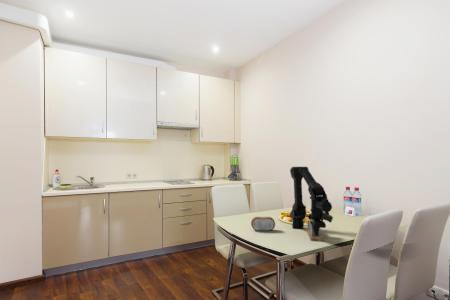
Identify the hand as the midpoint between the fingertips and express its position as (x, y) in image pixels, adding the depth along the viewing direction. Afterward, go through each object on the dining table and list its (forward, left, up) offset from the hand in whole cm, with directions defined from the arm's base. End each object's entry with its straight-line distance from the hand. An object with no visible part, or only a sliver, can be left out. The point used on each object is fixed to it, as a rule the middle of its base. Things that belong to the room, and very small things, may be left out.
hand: (316, 235), depth 143 cm
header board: (0, +7, -2) cm, 8 cm away
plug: (0, +8, -1) cm, 8 cm away
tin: (-30, +11, -3) cm, 32 cm away
